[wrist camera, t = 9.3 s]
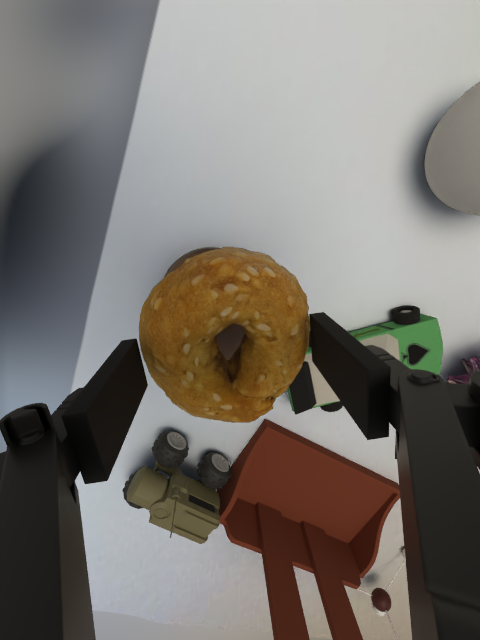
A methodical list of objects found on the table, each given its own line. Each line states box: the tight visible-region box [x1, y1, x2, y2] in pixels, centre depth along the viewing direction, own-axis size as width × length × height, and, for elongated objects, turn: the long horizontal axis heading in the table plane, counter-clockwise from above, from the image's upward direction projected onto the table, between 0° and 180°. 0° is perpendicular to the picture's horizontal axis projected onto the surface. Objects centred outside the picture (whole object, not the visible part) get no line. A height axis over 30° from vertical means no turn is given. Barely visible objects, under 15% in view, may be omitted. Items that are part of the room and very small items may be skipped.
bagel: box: [139, 247, 310, 422], centre depth 17 cm, size 10×11×5 cm
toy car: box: [287, 306, 443, 414], centre depth 37 cm, size 10×19×5 cm, turn 104°
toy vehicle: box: [123, 431, 231, 544], centre depth 37 cm, size 10×11×12 cm
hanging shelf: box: [217, 419, 400, 640], centre depth 31 cm, size 24×13×30 cm, turn 59°
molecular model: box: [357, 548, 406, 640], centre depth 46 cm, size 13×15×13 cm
